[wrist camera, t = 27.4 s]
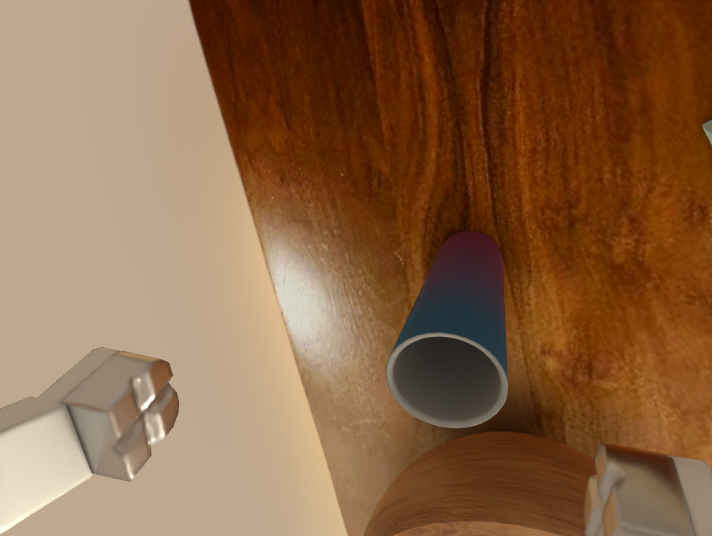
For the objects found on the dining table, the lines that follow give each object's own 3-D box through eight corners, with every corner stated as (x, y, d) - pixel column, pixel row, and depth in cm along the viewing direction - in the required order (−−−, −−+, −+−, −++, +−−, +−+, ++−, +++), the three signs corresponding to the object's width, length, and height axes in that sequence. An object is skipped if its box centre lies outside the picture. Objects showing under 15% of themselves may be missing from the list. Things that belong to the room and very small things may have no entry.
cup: (412, 269, 44) (366, 389, 31) (454, 204, 40) (420, 311, 28) (484, 309, 44) (466, 446, 31) (532, 248, 40) (534, 375, 28)
